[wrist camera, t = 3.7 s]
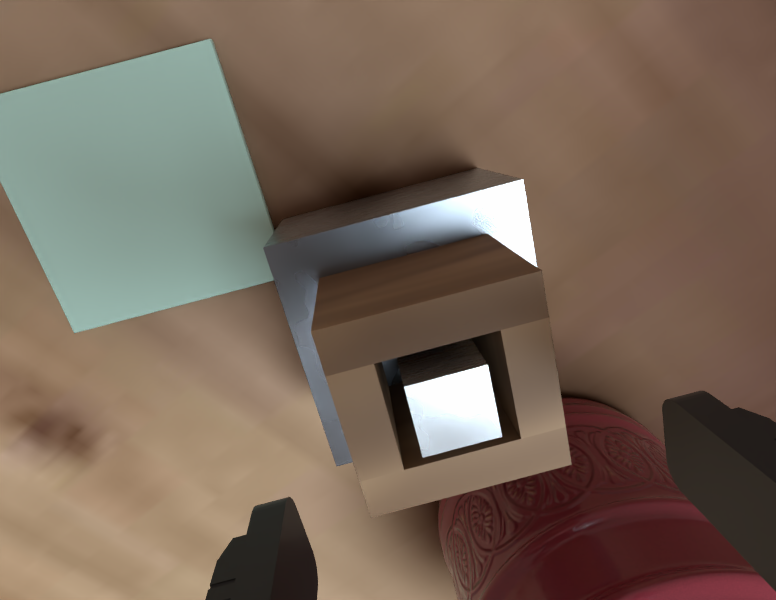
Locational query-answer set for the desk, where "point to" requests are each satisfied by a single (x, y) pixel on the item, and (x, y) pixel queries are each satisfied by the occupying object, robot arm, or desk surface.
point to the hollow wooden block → (429, 330)
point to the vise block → (388, 241)
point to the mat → (135, 185)
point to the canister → (592, 527)
